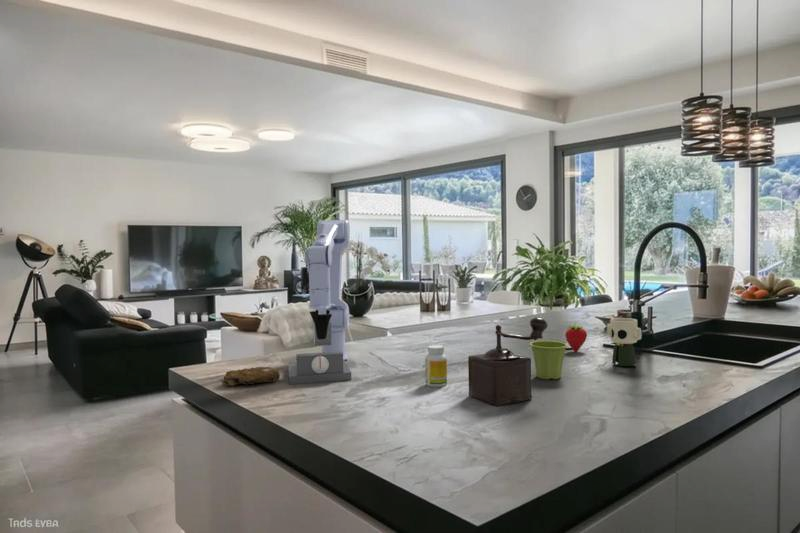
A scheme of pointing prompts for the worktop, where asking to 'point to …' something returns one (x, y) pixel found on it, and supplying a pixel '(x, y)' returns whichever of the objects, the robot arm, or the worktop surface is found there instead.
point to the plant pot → (548, 358)
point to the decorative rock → (250, 376)
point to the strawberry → (575, 337)
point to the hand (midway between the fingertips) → (321, 337)
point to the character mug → (623, 340)
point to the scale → (318, 368)
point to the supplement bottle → (436, 366)
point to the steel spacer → (323, 341)
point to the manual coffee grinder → (503, 371)
